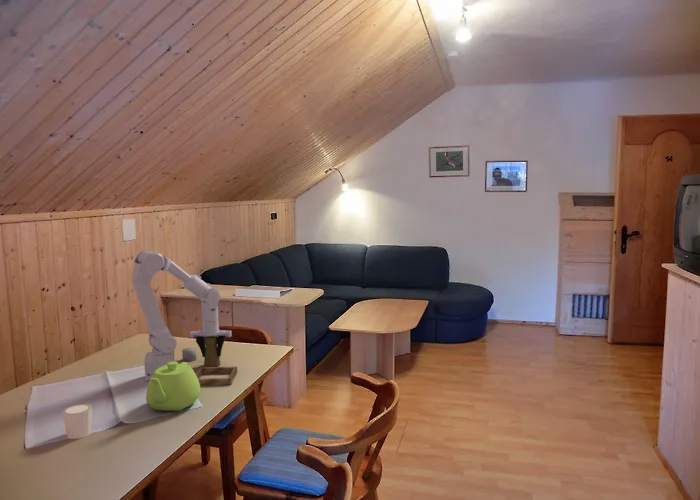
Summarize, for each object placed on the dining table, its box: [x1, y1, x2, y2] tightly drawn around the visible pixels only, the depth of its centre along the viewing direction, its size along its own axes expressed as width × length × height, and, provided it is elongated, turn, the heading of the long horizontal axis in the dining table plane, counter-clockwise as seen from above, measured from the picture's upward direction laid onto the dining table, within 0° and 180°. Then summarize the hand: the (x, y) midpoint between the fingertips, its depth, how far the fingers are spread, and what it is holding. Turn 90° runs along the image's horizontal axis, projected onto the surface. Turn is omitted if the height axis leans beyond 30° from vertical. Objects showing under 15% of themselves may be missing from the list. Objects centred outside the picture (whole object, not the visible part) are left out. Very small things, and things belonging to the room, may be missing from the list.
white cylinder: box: [62, 403, 93, 440], centre depth 137 cm, size 7×7×7 cm
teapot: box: [145, 360, 201, 412], centre depth 154 cm, size 22×15×13 cm
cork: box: [203, 336, 222, 367], centre depth 190 cm, size 6×6×11 cm
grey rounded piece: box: [181, 347, 198, 363], centre depth 197 cm, size 5×5×4 cm
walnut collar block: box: [195, 366, 238, 387], centre depth 177 cm, size 13×12×2 cm
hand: (211, 356), depth 190 cm, fingers closed on cork, 5 cm apart
